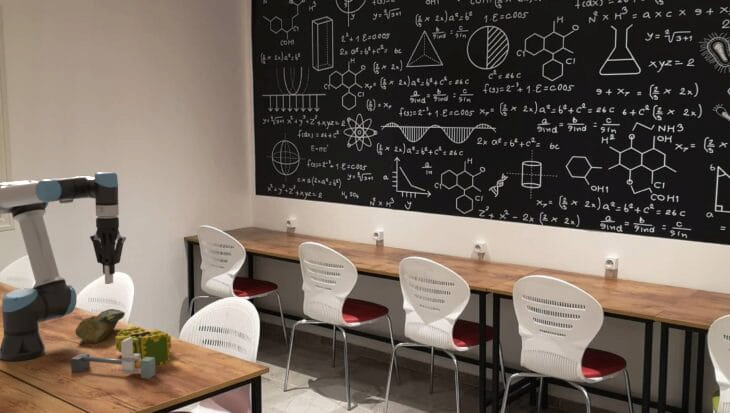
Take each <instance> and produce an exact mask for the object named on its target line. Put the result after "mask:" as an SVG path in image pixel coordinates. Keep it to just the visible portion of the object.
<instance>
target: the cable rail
mask: <svg viewBox="0 0 730 413" xmlns="http://www.w3.org/2000/svg"><path fill="white" fill-rule="evenodd" d="M91 362H94V363H101V364H103V363H104V364H113V365H121V366H122V359H117V358H106V357H100V356H90V353H83V352H82V353H80V354H77V355H75V356H73V357H72V358H70V368H71V369H70V371H71V373H81V372H83V371H85V370H86V369H87V370H88V369H89V368H91V366H90V365H91V364H90V363H91ZM135 367H136V368H141V369H140V378H141V379H148V380H149V379H151V378H152V377H154V376H156V364H155V357H146V358H144V359H142V360H136V361H135Z"/></svg>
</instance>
